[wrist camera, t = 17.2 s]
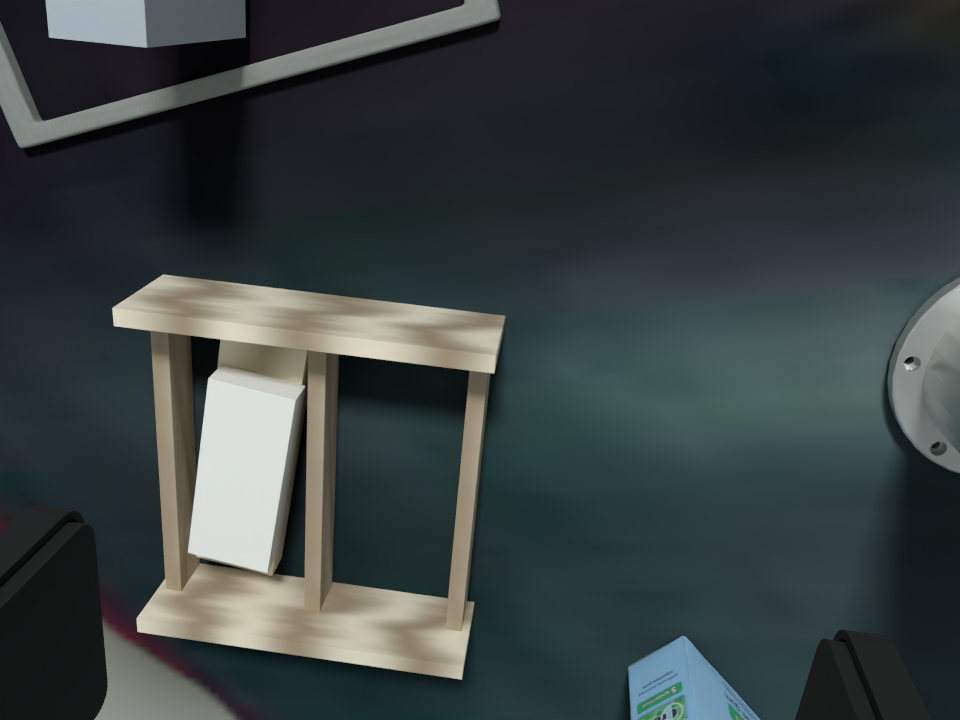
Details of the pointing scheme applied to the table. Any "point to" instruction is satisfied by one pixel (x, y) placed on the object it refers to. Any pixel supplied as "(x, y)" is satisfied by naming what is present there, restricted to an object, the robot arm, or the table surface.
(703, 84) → the table surface
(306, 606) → the offcut rack
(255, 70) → the grey picture frame
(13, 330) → the table surface
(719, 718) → the gum box
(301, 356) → the block
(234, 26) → the grey sheet
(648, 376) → the table surface
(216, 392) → the offcut top
